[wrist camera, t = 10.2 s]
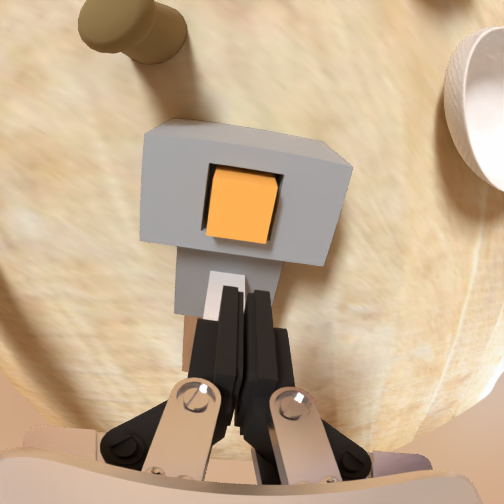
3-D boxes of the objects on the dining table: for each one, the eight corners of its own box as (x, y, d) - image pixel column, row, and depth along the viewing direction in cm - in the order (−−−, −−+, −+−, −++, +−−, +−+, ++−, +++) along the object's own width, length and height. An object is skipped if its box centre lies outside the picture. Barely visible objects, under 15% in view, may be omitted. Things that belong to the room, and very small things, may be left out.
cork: (199, 40, 23) (172, 17, 14) (142, 76, 25) (89, 77, 15) (167, -7, 21) (126, -46, 11) (112, 30, 22) (50, 14, 12)
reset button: (211, 211, 25) (206, 235, 21) (218, 162, 23) (213, 177, 19) (262, 219, 25) (265, 243, 22) (272, 170, 23) (277, 187, 20)
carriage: (181, 286, 34) (162, 359, 25) (186, 218, 30) (161, 282, 21) (264, 297, 35) (270, 373, 26) (280, 231, 31) (294, 300, 22)
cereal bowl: (533, 146, 27) (570, 164, 21) (447, 194, 31) (483, 221, 25) (500, 19, 19) (540, 18, 13) (397, 48, 23) (435, 43, 17)
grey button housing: (165, 198, 31) (139, 240, 23) (173, 118, 27) (144, 133, 19) (310, 219, 32) (330, 267, 24) (329, 143, 28) (361, 168, 20)
